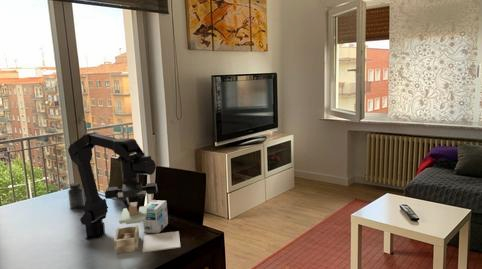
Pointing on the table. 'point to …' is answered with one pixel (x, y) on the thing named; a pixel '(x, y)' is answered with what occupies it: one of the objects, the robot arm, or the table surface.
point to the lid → (133, 214)
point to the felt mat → (161, 241)
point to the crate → (126, 239)
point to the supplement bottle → (76, 196)
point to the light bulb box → (156, 216)
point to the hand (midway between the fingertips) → (133, 211)
